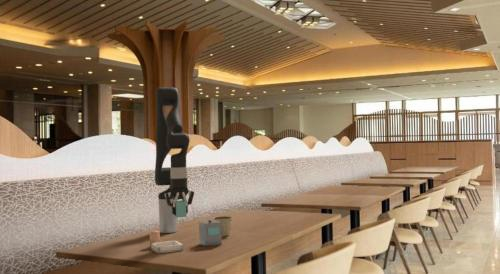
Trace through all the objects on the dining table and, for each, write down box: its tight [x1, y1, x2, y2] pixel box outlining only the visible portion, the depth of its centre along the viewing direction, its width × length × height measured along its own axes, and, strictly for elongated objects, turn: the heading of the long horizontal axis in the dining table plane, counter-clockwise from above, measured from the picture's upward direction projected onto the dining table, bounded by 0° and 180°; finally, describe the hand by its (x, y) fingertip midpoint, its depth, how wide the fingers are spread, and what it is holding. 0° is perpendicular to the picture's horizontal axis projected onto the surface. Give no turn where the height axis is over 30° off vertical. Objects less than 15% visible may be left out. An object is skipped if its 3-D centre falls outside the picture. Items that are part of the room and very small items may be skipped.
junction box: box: [198, 219, 223, 248], centre depth 230 cm, size 7×8×11 cm
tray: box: [151, 240, 184, 254], centre depth 222 cm, size 11×11×2 cm
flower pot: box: [212, 215, 233, 237], centre depth 251 cm, size 9×9×9 cm
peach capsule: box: [149, 229, 161, 248], centre depth 229 cm, size 4×4×7 cm
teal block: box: [174, 199, 187, 219], centre depth 234 cm, size 4×4×7 cm
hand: (179, 214), depth 234 cm, fingers closed on teal block, 4 cm apart
